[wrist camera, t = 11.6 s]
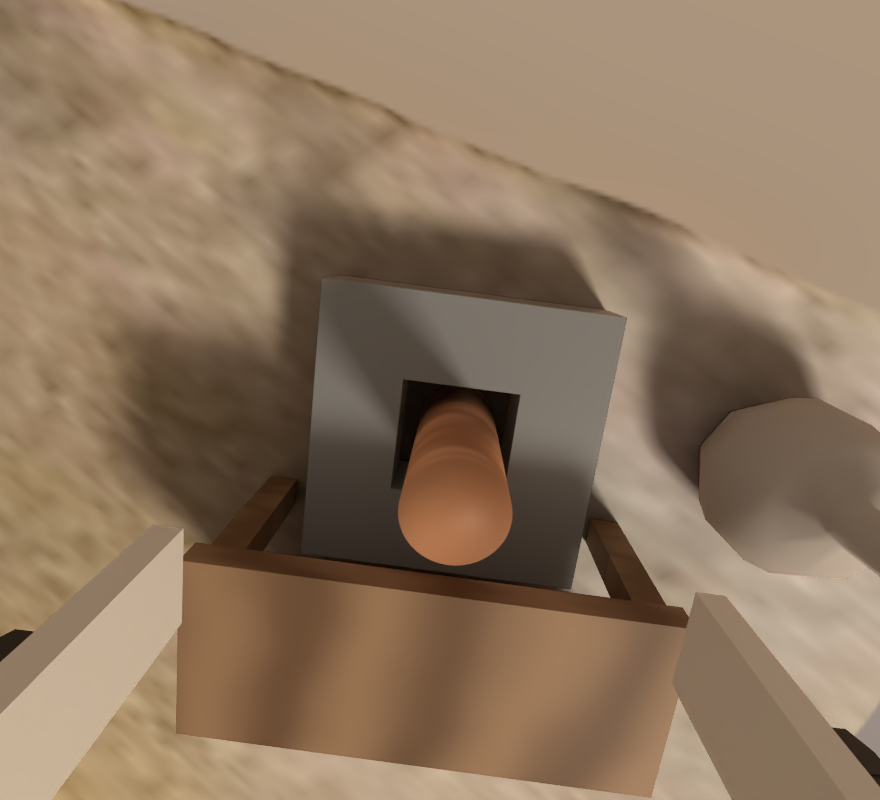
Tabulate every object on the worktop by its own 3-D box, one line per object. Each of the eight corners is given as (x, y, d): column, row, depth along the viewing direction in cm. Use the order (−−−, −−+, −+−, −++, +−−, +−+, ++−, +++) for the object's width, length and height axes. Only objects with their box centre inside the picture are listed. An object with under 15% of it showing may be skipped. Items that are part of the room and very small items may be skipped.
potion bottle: (820, 540, 33) (1236, 866, 15) (664, 524, 33) (899, 830, 15) (862, 391, 30) (1403, 571, 13) (695, 375, 31) (1011, 531, 13)
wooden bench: (255, 601, 35) (175, 733, 25) (262, 470, 33) (179, 560, 23) (597, 646, 35) (650, 797, 25) (626, 519, 33) (696, 629, 23)
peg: (417, 448, 32) (392, 557, 20) (425, 379, 31) (404, 452, 20) (487, 458, 32) (503, 572, 20) (498, 389, 31) (521, 468, 19)
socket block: (319, 518, 33) (301, 553, 29) (340, 275, 30) (322, 277, 26) (558, 550, 33) (570, 589, 29) (605, 310, 30) (626, 317, 26)
